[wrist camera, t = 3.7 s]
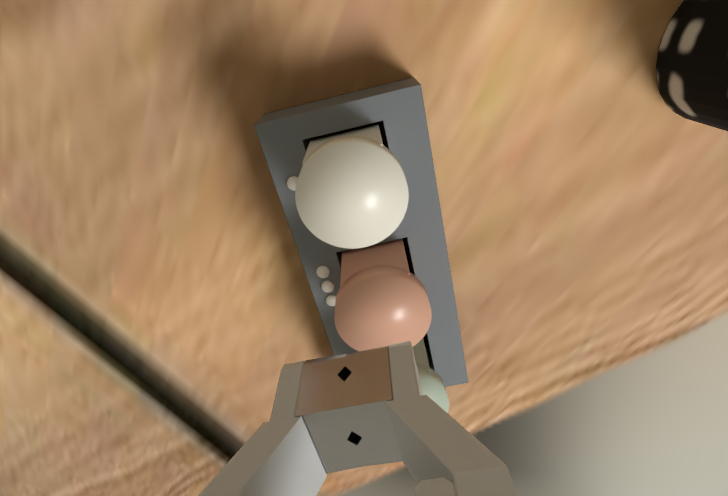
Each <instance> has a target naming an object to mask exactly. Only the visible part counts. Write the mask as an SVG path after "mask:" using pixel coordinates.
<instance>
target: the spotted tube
mask: <svg viewBox="0 0 728 496" xmlns="http://www.w3.org/2000/svg"><path fill="white" fill-rule="evenodd" d="M656 71H657V83H658V86H659V90H660V93H661V95H662V97H663V99H664V100H665V102H666V104H667V105H668V106H669V107H670V108H671V109H672V110H673V111H674V112H675V113H677V114H679V115H681V116H682V117H684V118H686V119H689V120H693V121H696V122H699V123H703V124H706V125H709V126H712V127H716V128H719V129H722V130H726V131H728V0H684V1H683V3H682V4H681V6H680V7H679V9H678V10H677V11H676V13H675V14H674V16H673V17H672V19H671V21H670V23H669V25H668V27H667V29H666V31H665V33H664V35H663V38H662V42H661V45H660V48H659V51H658V58H657V65H656Z"/></svg>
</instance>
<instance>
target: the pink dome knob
mask: <svg viewBox="0 0 728 496" xmlns="http://www.w3.org/2000/svg"><path fill="white" fill-rule="evenodd" d="M431 319H432V312H431V307H430V303H429V299H428V295H427V292H426V289H425V287H424V285H423V284H422V282H421V281H420V280H419V279H418V278H417V277H416V276H415V275H413V274H412V273H410V271H409V267H408V262H407V258H406V253H405V248H404V244H403V239H399V240H395V241H390V242H385V243H381V244H376V245H371V246H368V247H364V248H357V249H353V250H348V251H343V252H342V262H341V281H340V289H339V291H338V293H337V296H336V301H335V316H334V320H335V326H336V329H337V332H338V334H339V335H340V337H341V338H342V339H343V341H344V342H345V343H347V344H348V345H349V346H350V347H352V348H353V349H355V350H357V351H364V350H369V349H374V348H379V347H384V346H389V345H392V344H397V343H402V342H407V341H410V342H411V344H412V347H413V346H415V345H416V344H417V343H418V342H419V341H420V340H421V339H422V338H423V337H424V336H425V334H426V333H427V331H428V329H429V327H430V324H431Z"/></svg>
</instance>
